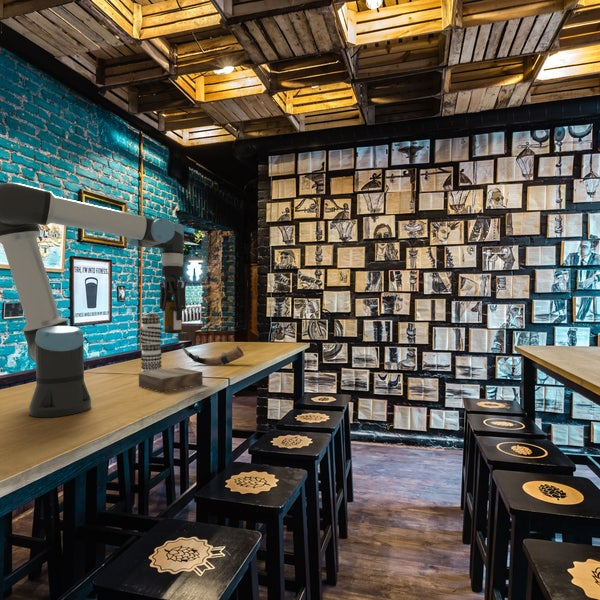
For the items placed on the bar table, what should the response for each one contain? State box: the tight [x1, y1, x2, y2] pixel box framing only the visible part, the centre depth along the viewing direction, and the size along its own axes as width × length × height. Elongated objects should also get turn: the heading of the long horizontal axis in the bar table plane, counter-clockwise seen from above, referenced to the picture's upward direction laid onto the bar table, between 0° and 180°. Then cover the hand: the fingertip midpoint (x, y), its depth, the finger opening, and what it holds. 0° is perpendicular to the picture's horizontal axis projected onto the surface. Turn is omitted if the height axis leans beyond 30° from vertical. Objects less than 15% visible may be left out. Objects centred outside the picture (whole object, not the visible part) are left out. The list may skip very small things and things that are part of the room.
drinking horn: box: [179, 343, 245, 366], centre depth 194 cm, size 6×30×10 cm, turn 90°
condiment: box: [160, 300, 187, 334], centre depth 151 cm, size 7×8×12 cm
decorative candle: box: [139, 312, 163, 373], centre depth 182 cm, size 9×9×25 cm
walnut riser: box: [138, 367, 204, 393], centre depth 149 cm, size 16×16×5 cm
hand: (172, 328), depth 151 cm, fingers closed on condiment, 6 cm apart
